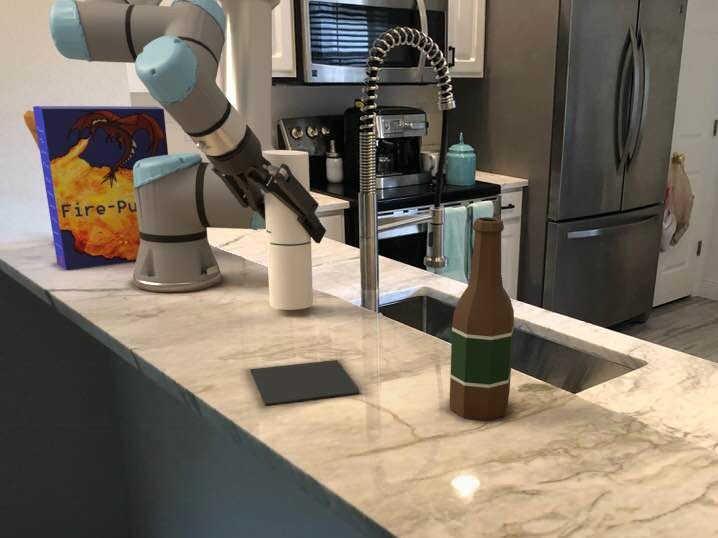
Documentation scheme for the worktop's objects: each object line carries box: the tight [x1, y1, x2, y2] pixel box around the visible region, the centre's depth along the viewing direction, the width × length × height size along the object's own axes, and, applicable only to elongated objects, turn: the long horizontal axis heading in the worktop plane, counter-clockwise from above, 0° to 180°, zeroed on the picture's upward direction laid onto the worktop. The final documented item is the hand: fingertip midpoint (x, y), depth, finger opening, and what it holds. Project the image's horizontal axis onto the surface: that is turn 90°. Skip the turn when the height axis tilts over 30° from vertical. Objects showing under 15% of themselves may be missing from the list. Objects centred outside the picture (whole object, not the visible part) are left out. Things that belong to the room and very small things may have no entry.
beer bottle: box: [449, 216, 515, 422], centre depth 92 cm, size 8×8×24 cm
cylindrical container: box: [262, 149, 314, 311], centre depth 125 cm, size 7×7×25 cm
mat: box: [250, 359, 360, 406], centre depth 101 cm, size 12×12×1 cm
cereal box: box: [32, 105, 169, 271], centre depth 151 cm, size 22×6×30 cm, turn 132°
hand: (302, 233), depth 129 cm, fingers closed on cylindrical container, 7 cm apart
